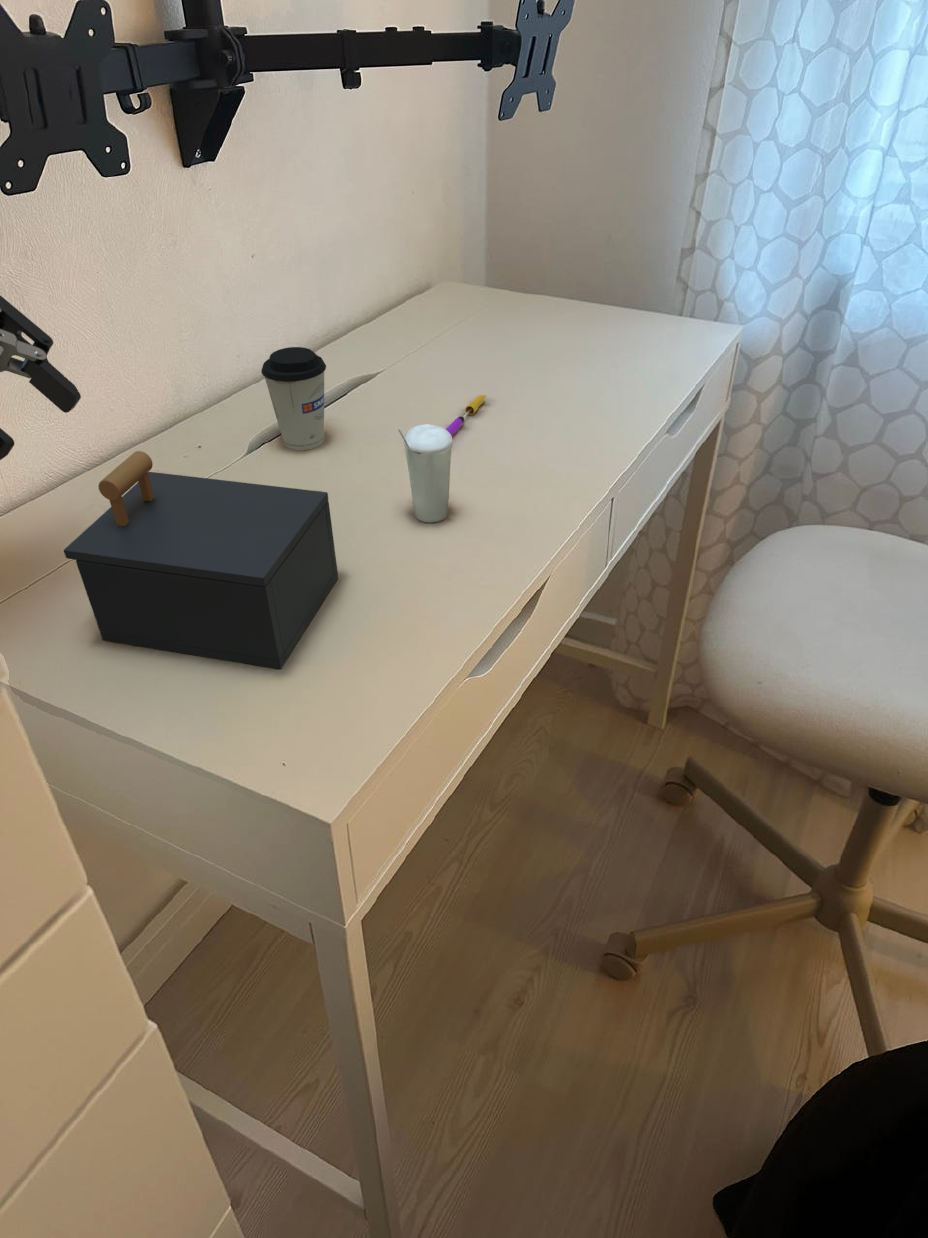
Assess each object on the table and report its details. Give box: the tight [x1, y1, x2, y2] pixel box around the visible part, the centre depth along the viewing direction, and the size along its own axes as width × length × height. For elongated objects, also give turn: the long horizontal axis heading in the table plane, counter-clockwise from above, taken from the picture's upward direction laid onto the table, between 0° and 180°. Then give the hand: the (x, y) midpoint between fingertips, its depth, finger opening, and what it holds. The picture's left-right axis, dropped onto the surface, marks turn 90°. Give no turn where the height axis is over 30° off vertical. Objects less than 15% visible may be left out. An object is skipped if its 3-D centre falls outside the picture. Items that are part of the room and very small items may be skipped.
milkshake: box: [397, 423, 453, 524], centre depth 85 cm, size 5×5×10 cm
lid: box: [63, 450, 329, 586], centre depth 70 cm, size 17×13×5 cm
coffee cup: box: [260, 346, 327, 451], centre depth 98 cm, size 7×7×10 cm
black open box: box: [75, 501, 339, 670], centre depth 74 cm, size 16×13×8 cm
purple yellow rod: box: [445, 394, 487, 436], centre depth 103 cm, size 3×1×16 cm
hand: (43, 427), depth 70 cm, fingers open, 8 cm apart
